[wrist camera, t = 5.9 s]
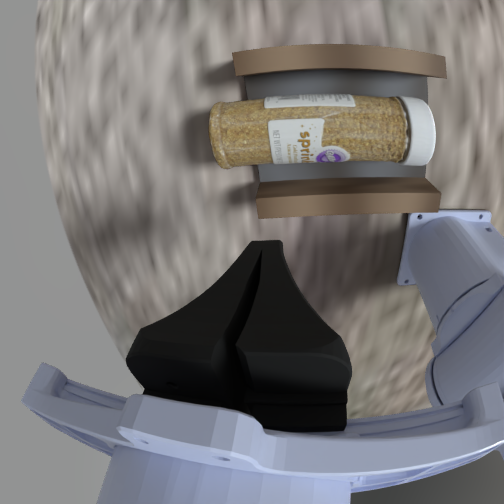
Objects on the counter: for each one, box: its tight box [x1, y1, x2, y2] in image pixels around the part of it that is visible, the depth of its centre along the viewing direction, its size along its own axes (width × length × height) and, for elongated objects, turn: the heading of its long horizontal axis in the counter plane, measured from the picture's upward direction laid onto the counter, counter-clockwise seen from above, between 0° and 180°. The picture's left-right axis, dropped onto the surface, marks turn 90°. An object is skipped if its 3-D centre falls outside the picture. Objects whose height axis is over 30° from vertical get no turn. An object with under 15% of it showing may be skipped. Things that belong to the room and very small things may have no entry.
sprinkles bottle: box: [209, 94, 436, 169], centre depth 16 cm, size 5×5×14 cm
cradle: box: [232, 44, 447, 219], centre depth 16 cm, size 13×11×4 cm
